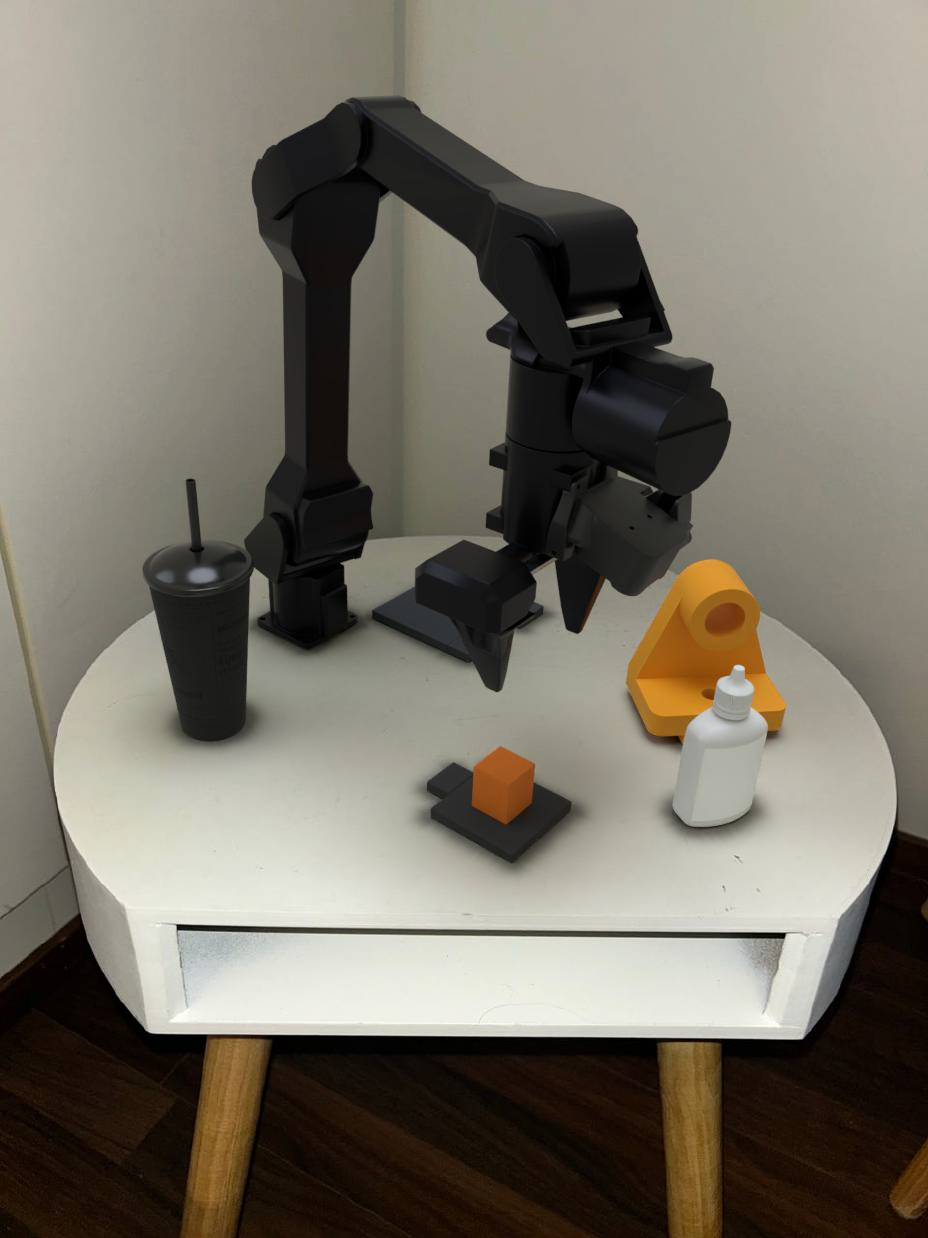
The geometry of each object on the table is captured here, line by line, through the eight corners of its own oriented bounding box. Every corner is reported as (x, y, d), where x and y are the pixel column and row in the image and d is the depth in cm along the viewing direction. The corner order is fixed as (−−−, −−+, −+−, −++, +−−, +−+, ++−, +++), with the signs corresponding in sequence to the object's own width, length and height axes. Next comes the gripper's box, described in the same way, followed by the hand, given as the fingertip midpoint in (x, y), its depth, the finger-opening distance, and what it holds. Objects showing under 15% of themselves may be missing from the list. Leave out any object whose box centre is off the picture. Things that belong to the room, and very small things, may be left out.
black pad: (408, 804, 77) (408, 755, 75) (470, 757, 82) (472, 710, 80) (511, 863, 72) (516, 813, 70) (571, 810, 77) (576, 761, 75)
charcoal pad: (371, 617, 99) (371, 610, 98) (449, 574, 106) (449, 566, 106) (468, 662, 93) (469, 654, 92) (543, 613, 100) (544, 605, 100)
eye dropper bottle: (755, 835, 76) (788, 690, 70) (672, 827, 76) (698, 682, 70) (747, 794, 79) (778, 653, 73) (669, 786, 80) (693, 646, 74)
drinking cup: (215, 682, 89) (194, 449, 79) (285, 717, 85) (271, 477, 75) (140, 726, 84) (106, 482, 73) (211, 765, 80) (186, 515, 70)
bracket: (649, 745, 84) (670, 609, 78) (624, 691, 90) (642, 561, 84) (783, 738, 85) (814, 604, 79) (750, 685, 91) (777, 557, 85)
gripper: (585, 528, 54) (558, 779, 62) (751, 426, 67) (711, 645, 75) (410, 466, 59) (406, 703, 67) (594, 383, 72) (573, 591, 80)
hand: (535, 659), depth 72 cm, fingers open, 9 cm apart
